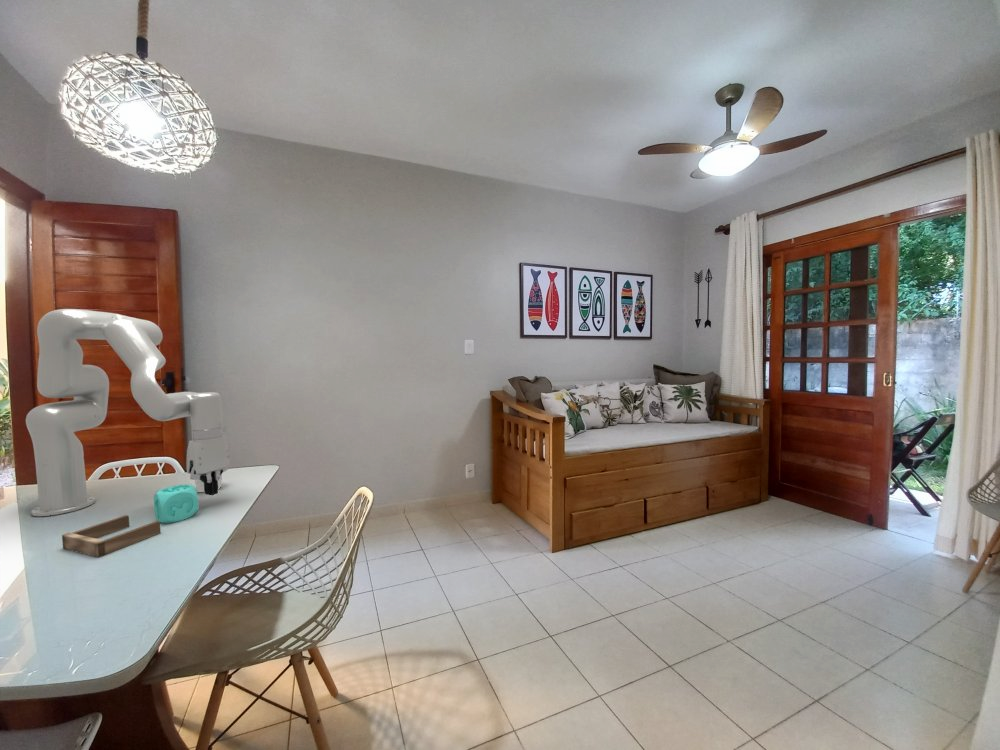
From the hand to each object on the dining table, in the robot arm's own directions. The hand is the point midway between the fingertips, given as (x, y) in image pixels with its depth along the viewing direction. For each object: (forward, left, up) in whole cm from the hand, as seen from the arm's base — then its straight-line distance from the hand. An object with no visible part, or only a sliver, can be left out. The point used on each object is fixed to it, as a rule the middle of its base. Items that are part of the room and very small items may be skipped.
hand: (211, 493), depth 118 cm
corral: (0, -23, -3) cm, 23 cm away
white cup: (-14, +9, -3) cm, 17 cm away
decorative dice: (0, -10, -3) cm, 10 cm away
